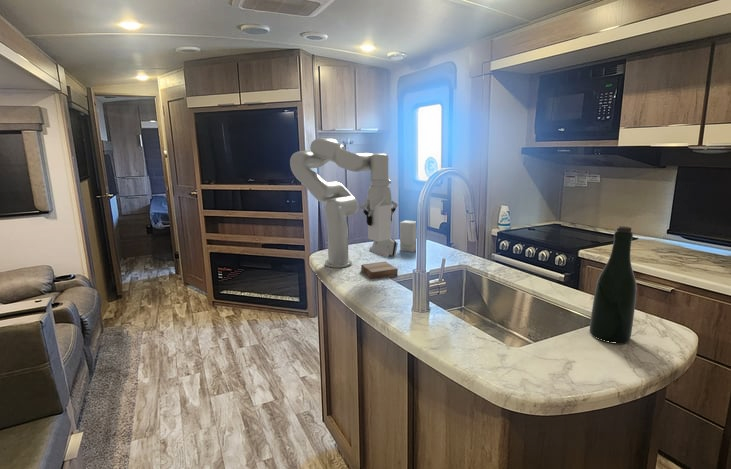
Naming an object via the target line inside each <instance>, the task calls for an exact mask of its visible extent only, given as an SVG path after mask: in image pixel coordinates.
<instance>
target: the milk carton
mask: <svg viewBox="0 0 731 469" xmlns="http://www.w3.org/2000/svg"><path fill="white" fill-rule="evenodd" d="M384 200H385V201H387V200H386V199H385V196H383V199H382V200H381V201H380V202H379V203H378V204H377V205H376V206H375V211H373V213H372V214H371V216H372V225H371V226H369V225H368V224H367V239H368V240H372V241H374V240H375V241H384V240H388V239H391V238H392V221H391V208H392V206H391V204H390V203H389V202H388V201H387V202H388V203H389V204H390V205H381V203H382V202H383V201H384ZM368 208H370V207H369V205H368Z"/></svg>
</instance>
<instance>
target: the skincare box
mask: <svg viewBox="0 0 731 469" xmlns="http://www.w3.org/2000/svg"><path fill="white" fill-rule="evenodd" d="M399 243H400V244H399V250H400V251H405V252H409V253H415V252H416V220H415V221H414V220H408V219H407V220H402V221H400V222H399Z"/></svg>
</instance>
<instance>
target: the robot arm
mask: <svg viewBox="0 0 731 469" xmlns="http://www.w3.org/2000/svg"><path fill="white" fill-rule="evenodd" d="M309 148H310V150H299V151H296V152H294V153H293V154H291V157H290V159H289V165H290V171H291V172H292V174H293V175H294V177H295V178H296V179H297V180H298V181H299V182H300V183H301V184H302V185H303V186H304V187H305V188H306V189H307V190H308V191H309V192H310V194H311V195H312V196H313V197H314V199H316V200H317V201H318V202H320V203H325V205H324V214H325V219H326V226H327V227H326V228H327V256H328V257H327V258H328V259H327V260H325V262H324V265H325V266H326V267H328V268H334V269H336V268H337V269H340V268H346V267H350V266H351V265H353V264H352V263H353V262H352V260H351V259H350V258H349V228H348V223H347V220H346V217H350V216H353V215H355V214H356V213H357V212H358V211H359V202H358V200H357V199H356V197H355V196H354V195H353V194H352V193H351V192H350V191H349V189H347V187H346V186H344V185H343V184H342V183H341V182H339V181H336V180H331V181H329V180H328V181H326V180H324V179H323V178H322V177H321V176H320V175H319V174H318V173H317V172H316V171H314V170H312V169H319V168H321V167H322V166H325V165H326V164H327V163H328V162H332V163H335V164H336V165H337V166H338V167H339V168H342V169H345V170H347V171H351V172H353V173H354V172H356V173H358V172H367V171H370V173H369V174H370V180H369V181H370V186H369V187H368V188H367V192H366V202H364V203H363V204H362V205H361V206H360V209H361V211H362V212H363V214H364V215H365V216H366V224H367V226H368V225H369V226H371V225H372V216H371V214H372V213H373V211H375V206H376V205H377V204H378V203H379V202H380V201H381V200H382V199H383V196H385V199H386V200H387V201H388V202H389V203H390V204H391V222H392V221H393V214H394V213H395V211H396V209H397V208H398V206H399V204H398V203H396V202H395V201H393V200H392V193H391V187H390V186H389V185H390V184H392V180H390V179H389V155H388V154H386V153H370V152H364V153H363V152H359V153H358V152H356V153H355V152H351V151H347V150H346V147H345V146H344V144H341V143H339V142H338V140H336V139H334V138H331V137H327V138H326V137H324V138H323V137H319V138H315V139H313V140H312V141H311V143H310V147H309ZM387 201H385V200H384V201H383V202H382V203H381V205H390V204H389V203H388V202H387ZM368 205H369V207H370V208H368Z"/></svg>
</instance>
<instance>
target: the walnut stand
mask: <svg viewBox="0 0 731 469" xmlns="http://www.w3.org/2000/svg"><path fill="white" fill-rule="evenodd" d="M360 270H361V272H362V273H363V274H365V275H366V276H367V277H369V278H371V280H375V279H381V278H383V279H384V278H388V277H389V278H390V277H395V276H399V275H398V274H399V271H398V268H397V267H396V266H394V265H392V264H390V263H389V262H387V261H379V262H373V263H364V264H363V263H362V264H361V269H360Z"/></svg>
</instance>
